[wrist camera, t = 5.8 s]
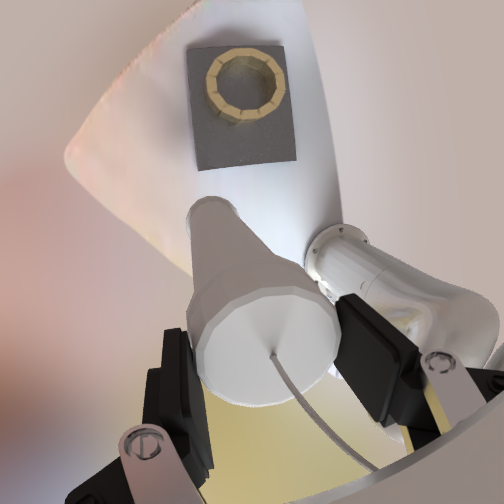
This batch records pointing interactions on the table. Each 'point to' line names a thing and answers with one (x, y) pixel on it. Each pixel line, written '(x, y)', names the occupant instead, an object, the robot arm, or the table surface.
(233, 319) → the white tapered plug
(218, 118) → the fitting base
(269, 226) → the table surface
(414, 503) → the robot arm
